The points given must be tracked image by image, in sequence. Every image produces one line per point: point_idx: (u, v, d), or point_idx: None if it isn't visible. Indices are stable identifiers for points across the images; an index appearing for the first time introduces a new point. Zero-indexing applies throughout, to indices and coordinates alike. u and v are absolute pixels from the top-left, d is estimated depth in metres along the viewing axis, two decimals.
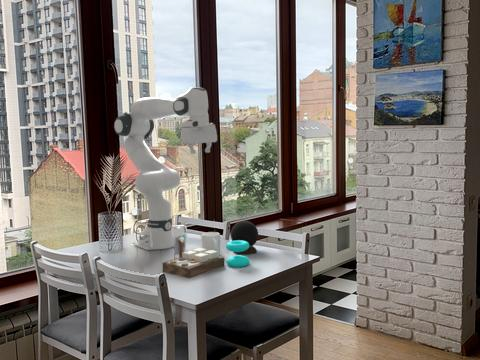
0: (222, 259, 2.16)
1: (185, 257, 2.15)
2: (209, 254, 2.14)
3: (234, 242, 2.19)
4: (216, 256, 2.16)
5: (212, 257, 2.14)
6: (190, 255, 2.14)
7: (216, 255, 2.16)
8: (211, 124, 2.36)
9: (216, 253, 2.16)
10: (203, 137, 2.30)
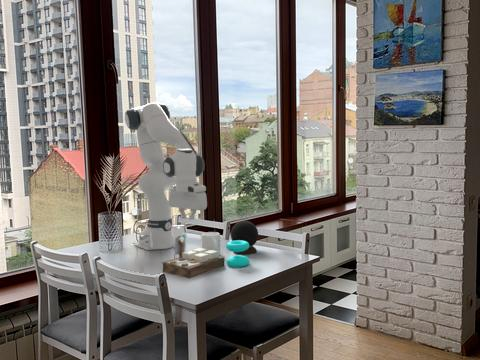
0: (222, 259, 2.16)
1: (185, 257, 2.15)
2: (209, 254, 2.14)
3: (234, 242, 2.19)
4: (216, 256, 2.16)
5: (212, 257, 2.14)
6: (190, 255, 2.14)
7: (216, 255, 2.16)
8: None
9: (216, 253, 2.16)
10: None
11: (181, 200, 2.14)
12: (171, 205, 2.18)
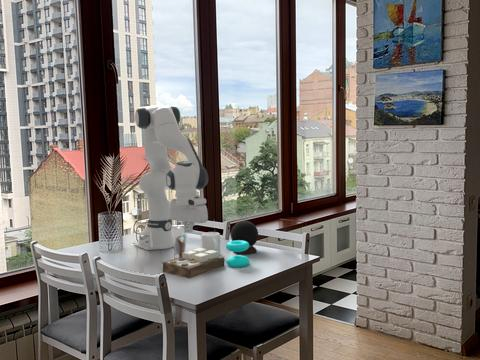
0: (222, 259, 2.16)
1: (185, 257, 2.15)
2: (209, 254, 2.14)
3: (234, 242, 2.19)
4: (216, 256, 2.16)
5: (212, 257, 2.14)
6: (190, 255, 2.14)
7: (216, 255, 2.16)
8: None
9: (216, 253, 2.16)
10: None
11: (182, 213, 2.14)
12: (172, 218, 2.18)
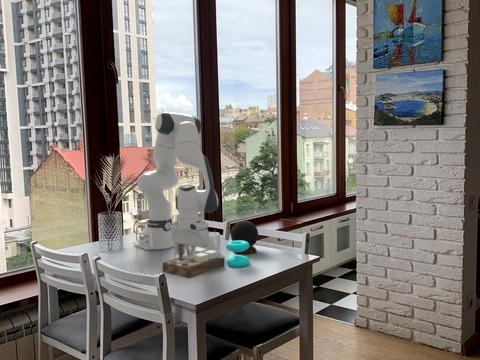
0: (222, 259, 2.16)
1: None
2: (209, 254, 2.14)
3: (234, 242, 2.19)
4: (216, 256, 2.16)
5: (212, 257, 2.14)
6: (190, 258, 2.14)
7: (216, 255, 2.16)
8: None
9: (216, 253, 2.16)
10: None
11: (183, 236, 2.15)
12: (173, 241, 2.20)
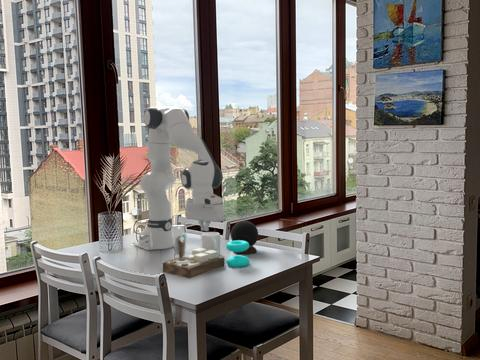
0: (222, 259, 2.16)
1: None
2: (209, 254, 2.14)
3: (234, 242, 2.19)
4: (216, 256, 2.16)
5: (212, 257, 2.14)
6: (190, 259, 2.14)
7: (216, 255, 2.16)
8: None
9: (216, 253, 2.16)
10: None
11: (198, 212, 2.14)
12: (188, 217, 2.18)
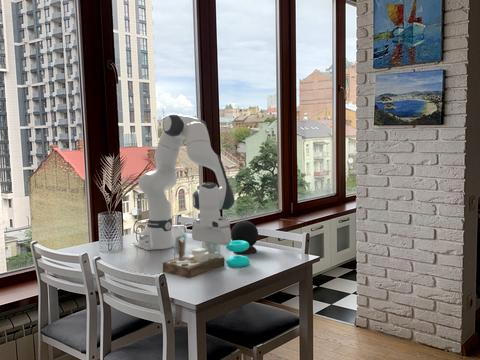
0: (222, 259, 2.16)
1: None
2: (209, 255, 2.14)
3: (234, 242, 2.19)
4: (216, 257, 2.16)
5: (212, 258, 2.14)
6: (190, 259, 2.14)
7: (216, 256, 2.16)
8: None
9: (216, 254, 2.16)
10: None
11: (205, 234, 2.15)
12: (194, 238, 2.20)
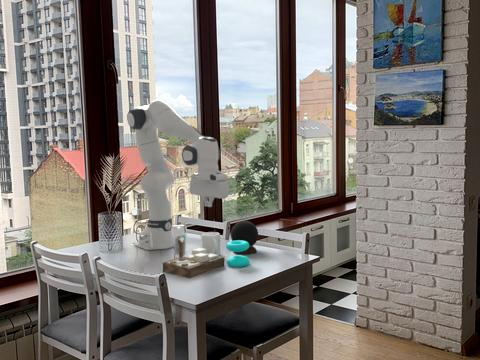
0: (222, 259, 2.16)
1: None
2: (209, 258, 2.14)
3: (234, 242, 2.19)
4: None
5: None
6: (190, 259, 2.14)
7: None
8: None
9: (216, 257, 2.16)
10: None
11: (202, 188, 2.17)
12: (192, 192, 2.21)
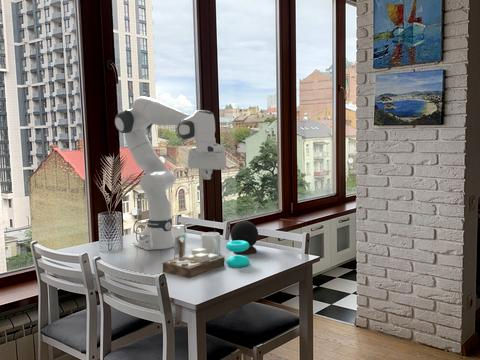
0: (222, 259, 2.16)
1: None
2: (209, 258, 2.14)
3: (234, 242, 2.19)
4: None
5: None
6: (190, 259, 2.14)
7: None
8: None
9: (216, 257, 2.16)
10: None
11: (200, 161, 2.19)
12: (190, 166, 2.23)
